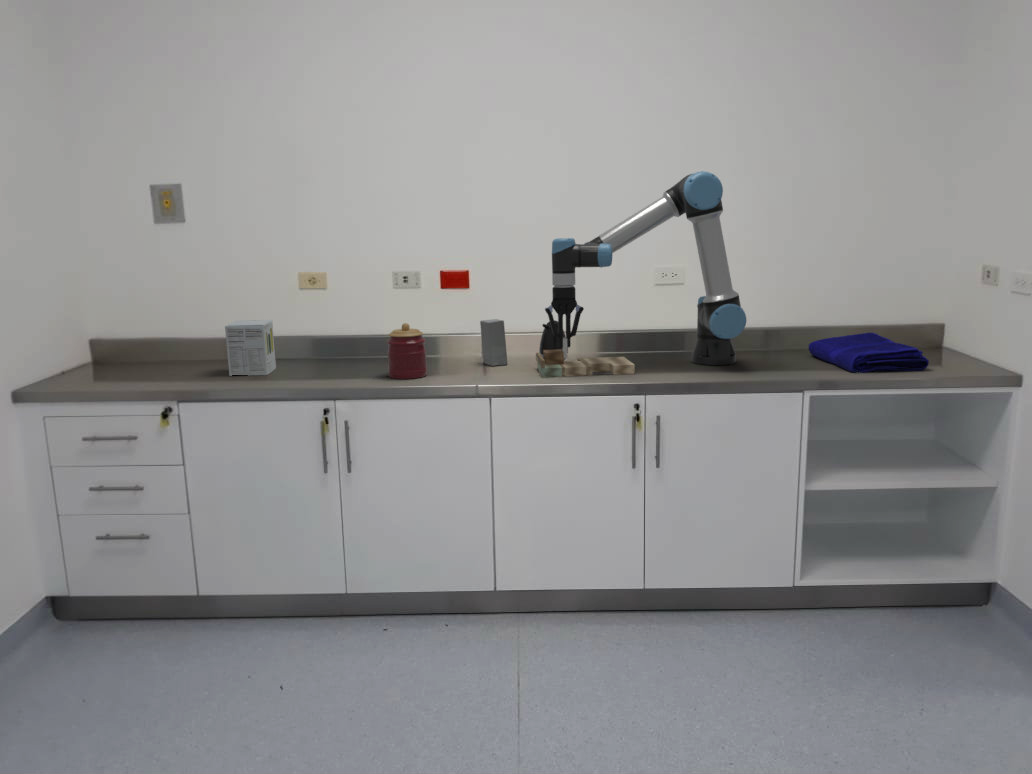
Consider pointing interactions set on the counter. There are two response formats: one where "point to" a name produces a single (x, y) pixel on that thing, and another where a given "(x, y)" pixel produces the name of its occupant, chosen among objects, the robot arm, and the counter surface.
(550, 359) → the walnut block
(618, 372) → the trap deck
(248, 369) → the supplement box
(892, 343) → the towel
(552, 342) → the pump dispenser
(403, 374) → the canister
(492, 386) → the counter surface
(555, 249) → the robot arm
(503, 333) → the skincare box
